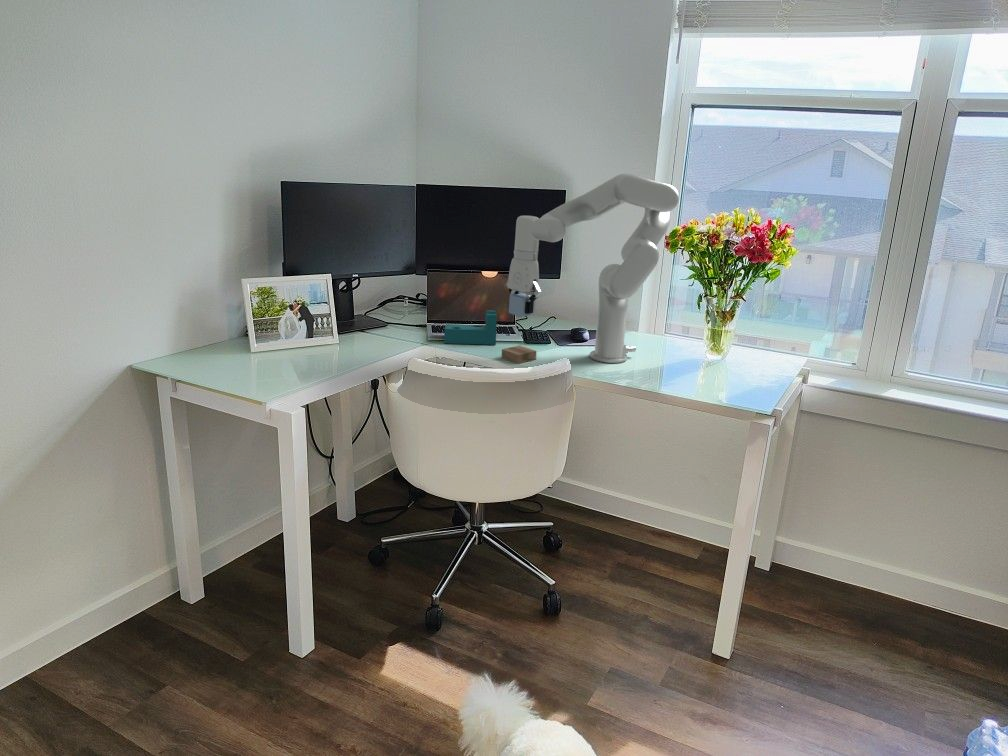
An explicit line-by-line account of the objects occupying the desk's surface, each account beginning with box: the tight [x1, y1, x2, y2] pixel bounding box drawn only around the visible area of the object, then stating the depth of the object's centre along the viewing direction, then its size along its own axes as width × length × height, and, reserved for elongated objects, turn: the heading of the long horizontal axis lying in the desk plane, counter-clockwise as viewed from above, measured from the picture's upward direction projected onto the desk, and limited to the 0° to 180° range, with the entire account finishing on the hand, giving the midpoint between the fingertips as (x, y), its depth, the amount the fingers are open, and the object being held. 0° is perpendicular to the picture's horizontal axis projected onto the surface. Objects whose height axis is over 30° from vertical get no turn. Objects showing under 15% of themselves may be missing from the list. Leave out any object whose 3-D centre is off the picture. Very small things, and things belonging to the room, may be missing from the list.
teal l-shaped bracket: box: [443, 310, 498, 346], centre depth 259 cm, size 18×11×10 cm, turn 92°
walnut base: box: [501, 345, 537, 365], centre depth 241 cm, size 8×8×3 cm
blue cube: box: [508, 292, 537, 318], centre depth 237 cm, size 6×6×6 cm
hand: (521, 310), depth 238 cm, fingers closed on blue cube, 6 cm apart
